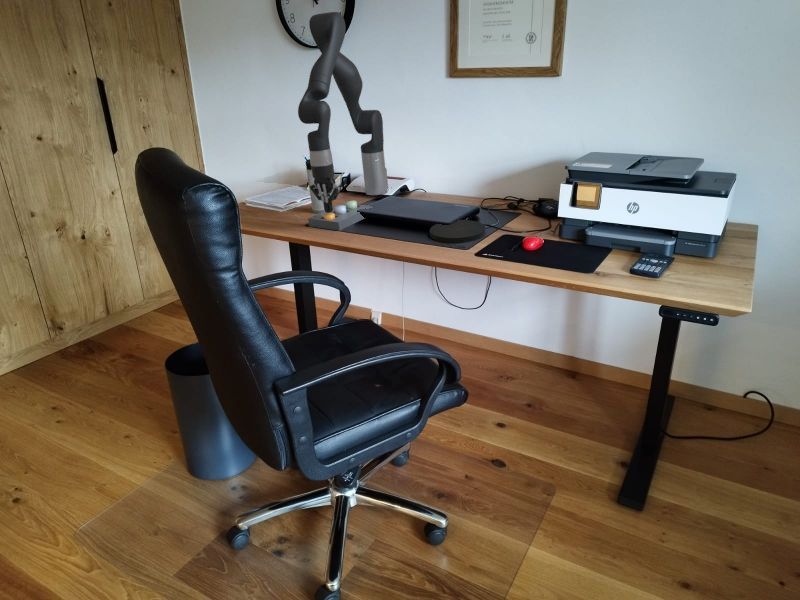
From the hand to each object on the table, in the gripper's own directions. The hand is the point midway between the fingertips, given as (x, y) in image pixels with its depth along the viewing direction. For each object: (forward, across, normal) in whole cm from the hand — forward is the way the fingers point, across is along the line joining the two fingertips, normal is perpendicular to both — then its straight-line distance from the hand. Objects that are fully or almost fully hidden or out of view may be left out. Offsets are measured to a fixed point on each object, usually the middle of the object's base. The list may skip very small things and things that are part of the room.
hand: (328, 212), depth 197 cm
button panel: (+5, 0, -6) cm, 8 cm away
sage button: (+4, 0, -13) cm, 13 cm away
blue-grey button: (+3, 0, -6) cm, 7 cm away
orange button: (+4, 0, 0) cm, 4 cm away
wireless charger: (+6, -47, -8) cm, 48 cm away
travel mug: (+5, +16, -13) cm, 21 cm away
